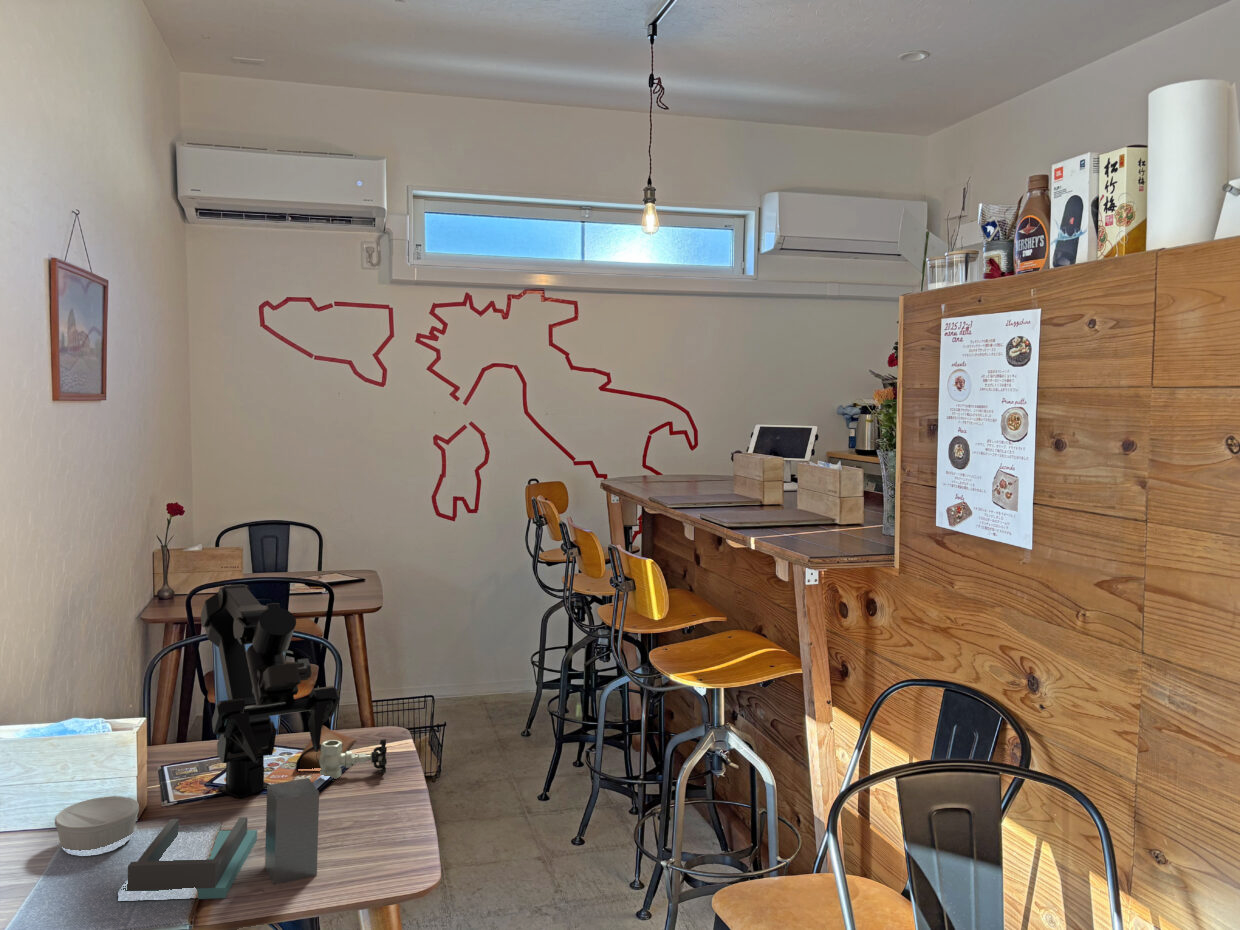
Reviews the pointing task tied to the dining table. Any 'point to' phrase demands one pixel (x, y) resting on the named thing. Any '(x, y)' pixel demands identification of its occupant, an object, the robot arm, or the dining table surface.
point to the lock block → (291, 830)
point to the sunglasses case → (311, 757)
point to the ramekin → (96, 822)
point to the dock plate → (193, 863)
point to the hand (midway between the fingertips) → (287, 755)
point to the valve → (348, 758)
